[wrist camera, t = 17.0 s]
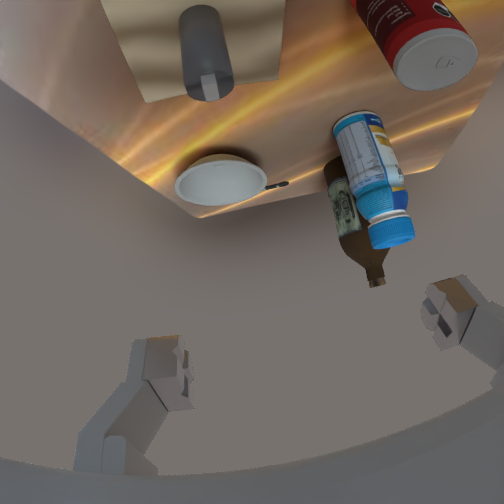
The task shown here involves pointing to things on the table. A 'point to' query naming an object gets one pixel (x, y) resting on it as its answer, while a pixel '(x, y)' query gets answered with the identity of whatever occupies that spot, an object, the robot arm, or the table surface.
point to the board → (168, 40)
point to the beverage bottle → (374, 178)
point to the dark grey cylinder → (204, 54)
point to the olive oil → (353, 224)
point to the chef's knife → (275, 185)
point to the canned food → (419, 41)
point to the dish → (220, 180)
